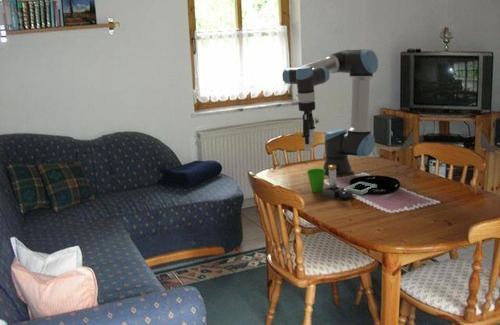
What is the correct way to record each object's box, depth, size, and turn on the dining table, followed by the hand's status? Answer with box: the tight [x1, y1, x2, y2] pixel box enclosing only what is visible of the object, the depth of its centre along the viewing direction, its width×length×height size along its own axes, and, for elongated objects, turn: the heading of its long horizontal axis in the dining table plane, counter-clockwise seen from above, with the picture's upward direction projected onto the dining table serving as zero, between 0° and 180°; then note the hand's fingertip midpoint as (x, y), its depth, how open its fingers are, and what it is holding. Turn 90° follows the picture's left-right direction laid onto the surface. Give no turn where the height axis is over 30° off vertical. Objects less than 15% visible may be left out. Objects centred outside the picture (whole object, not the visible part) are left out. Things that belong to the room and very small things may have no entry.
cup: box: [306, 167, 325, 193], centre depth 288 cm, size 9×9×11 cm
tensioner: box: [320, 186, 357, 202], centre depth 279 cm, size 9×15×5 cm, turn 42°
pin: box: [328, 165, 338, 191], centre depth 279 cm, size 4×4×14 cm
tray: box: [344, 181, 378, 196], centre depth 285 cm, size 12×10×2 cm
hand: (309, 146), depth 273 cm, fingers open, 13 cm apart
